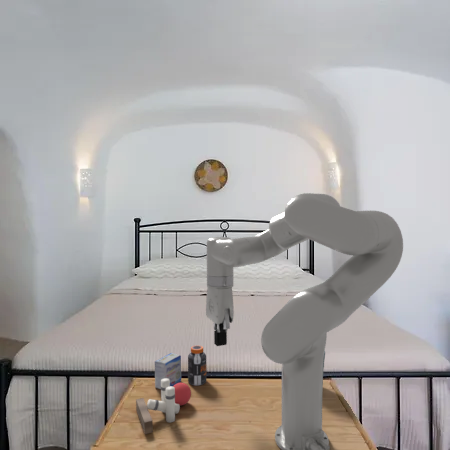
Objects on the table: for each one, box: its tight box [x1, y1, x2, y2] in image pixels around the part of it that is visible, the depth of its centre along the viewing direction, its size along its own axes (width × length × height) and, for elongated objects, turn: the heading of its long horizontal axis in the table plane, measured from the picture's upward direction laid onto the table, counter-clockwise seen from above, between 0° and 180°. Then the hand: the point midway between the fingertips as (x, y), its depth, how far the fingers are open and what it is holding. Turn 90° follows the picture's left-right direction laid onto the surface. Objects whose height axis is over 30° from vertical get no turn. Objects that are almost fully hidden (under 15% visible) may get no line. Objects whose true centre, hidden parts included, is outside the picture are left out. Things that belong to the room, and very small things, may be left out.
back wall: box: [135, 397, 154, 435], centre depth 99 cm, size 12×2×3 cm, turn 23°
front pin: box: [146, 398, 181, 415], centre depth 101 cm, size 2×2×8 cm
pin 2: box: [165, 386, 176, 423], centre depth 99 cm, size 2×2×8 cm
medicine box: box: [154, 352, 182, 390], centre depth 118 cm, size 8×4×9 cm, turn 148°
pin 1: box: [160, 378, 170, 414], centre depth 103 cm, size 2×2×8 cm
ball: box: [173, 382, 192, 406], centre depth 106 cm, size 6×6×6 cm
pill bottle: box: [187, 345, 207, 386], centre depth 120 cm, size 6×6×11 cm
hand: (220, 344), depth 106 cm, fingers closed
